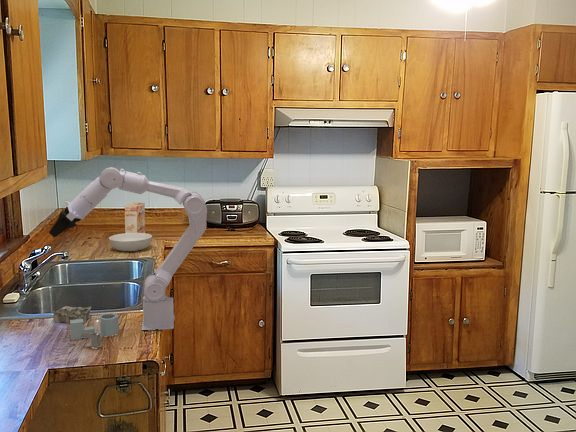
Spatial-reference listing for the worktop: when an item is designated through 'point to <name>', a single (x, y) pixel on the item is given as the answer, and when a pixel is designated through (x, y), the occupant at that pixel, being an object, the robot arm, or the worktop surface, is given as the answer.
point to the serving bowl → (130, 241)
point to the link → (107, 326)
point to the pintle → (97, 326)
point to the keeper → (92, 338)
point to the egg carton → (71, 314)
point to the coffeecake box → (135, 218)
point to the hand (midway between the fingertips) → (54, 232)
